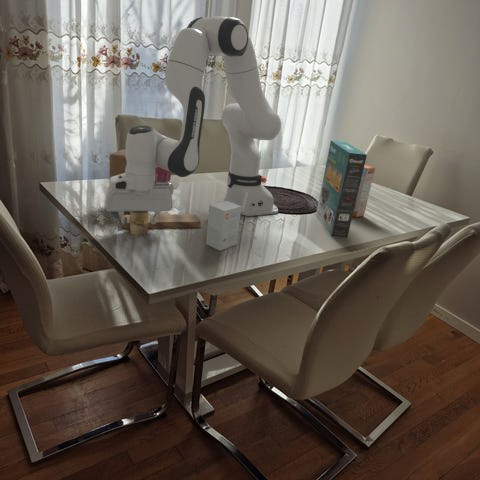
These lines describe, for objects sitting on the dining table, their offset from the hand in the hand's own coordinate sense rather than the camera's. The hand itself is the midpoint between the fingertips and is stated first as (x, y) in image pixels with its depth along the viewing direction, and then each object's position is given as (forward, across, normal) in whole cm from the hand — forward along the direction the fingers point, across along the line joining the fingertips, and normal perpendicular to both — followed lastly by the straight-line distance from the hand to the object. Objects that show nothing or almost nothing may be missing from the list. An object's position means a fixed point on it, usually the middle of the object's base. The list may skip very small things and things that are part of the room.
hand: (138, 223), depth 134 cm
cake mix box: (+3, -72, -1) cm, 72 cm away
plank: (+3, -8, -6) cm, 10 cm away
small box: (+3, -24, +12) cm, 27 cm away
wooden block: (+3, +1, -21) cm, 22 cm away
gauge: (+3, 0, -2) cm, 3 cm away
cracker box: (+3, -89, -17) cm, 91 cm away
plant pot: (+3, -13, -44) cm, 46 cm away
